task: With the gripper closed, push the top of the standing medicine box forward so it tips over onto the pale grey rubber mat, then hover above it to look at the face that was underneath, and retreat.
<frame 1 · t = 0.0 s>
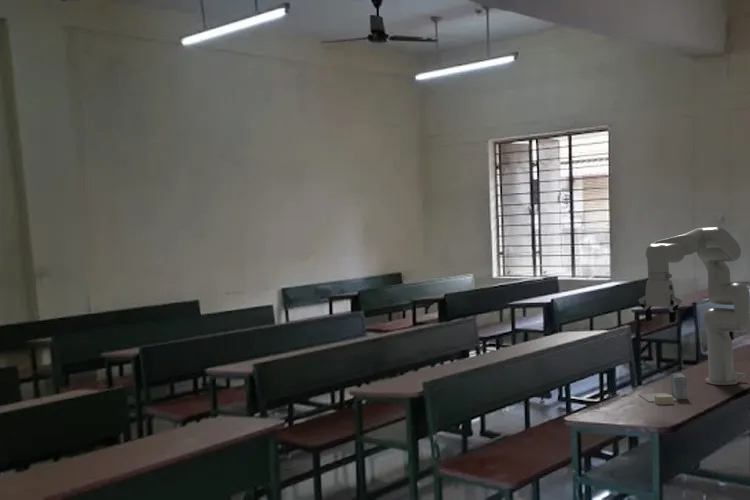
hand: (660, 321, 273), 31 cm above the table, tool pointing down, fingers open, 9 cm apart
medicine box: (679, 397, 280), on the table
mat: (657, 398, 280), on the table
pale yellow faceted block: (664, 403, 272), on the table
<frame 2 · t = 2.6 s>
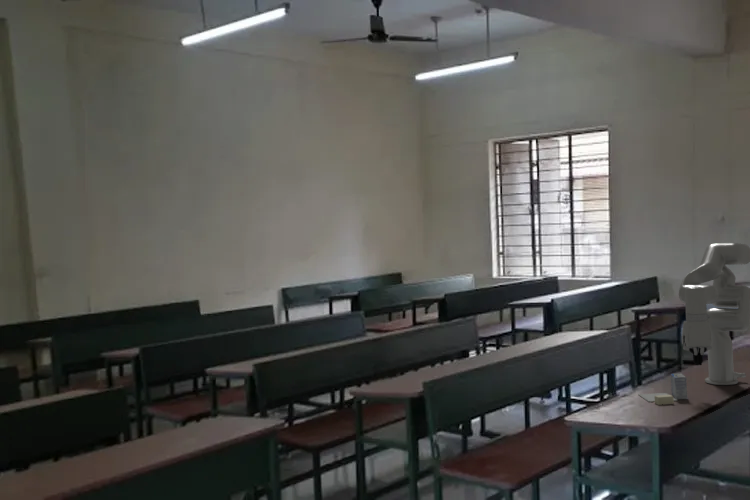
hand: (698, 364, 279), 13 cm above the table, tool pointing down, fingers closed
nothing on the table moved.
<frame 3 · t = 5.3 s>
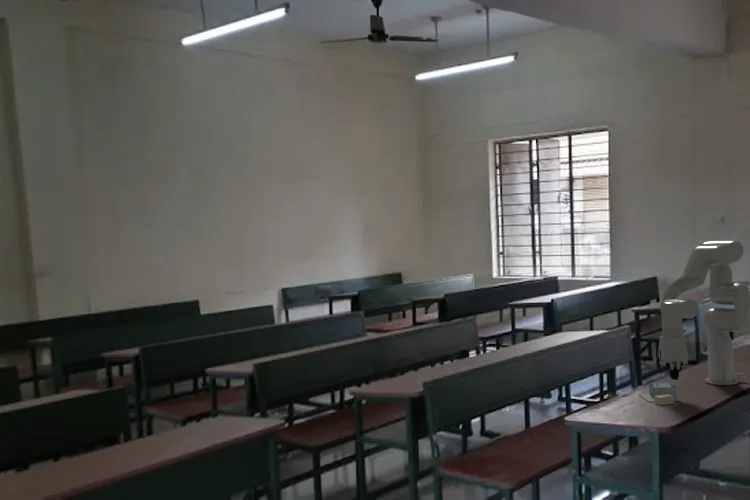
hand: (674, 379, 280), 7 cm above the table, tool pointing down, fingers closed
medicine box: (674, 390, 280), point 3 cm above the table, touching mat
everything else where it was.
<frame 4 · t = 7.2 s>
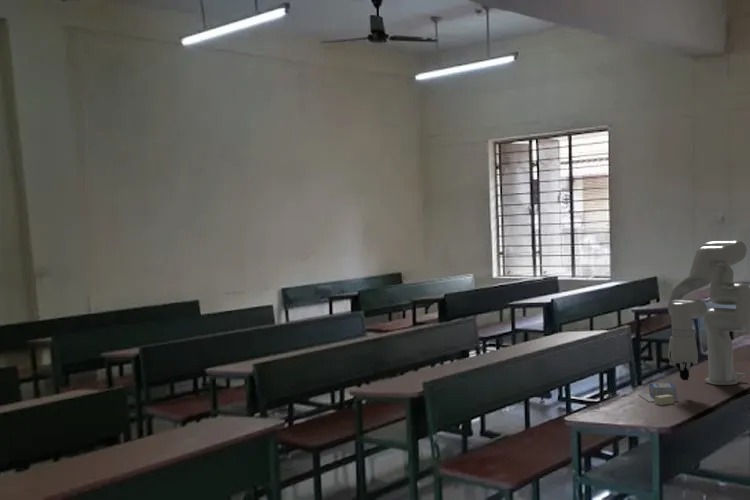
hand: (684, 379, 280), 7 cm above the table, tool pointing down, fingers closed
nothing on the table moved.
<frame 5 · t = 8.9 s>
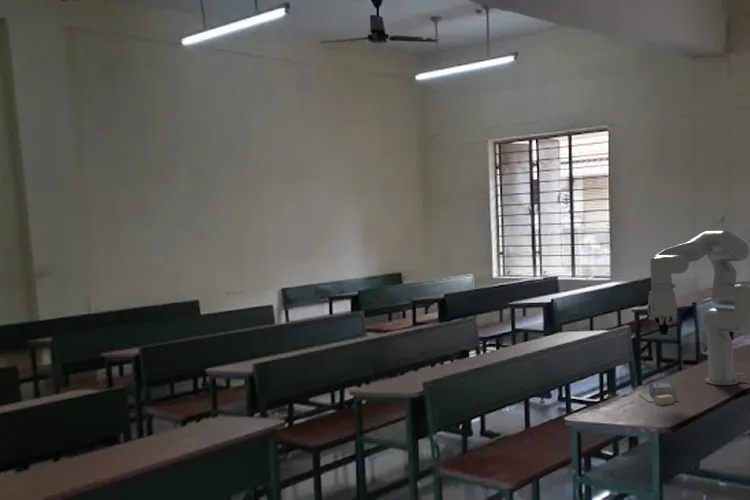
hand: (663, 334, 280), 25 cm above the table, tool pointing down, fingers closed
nothing on the table moved.
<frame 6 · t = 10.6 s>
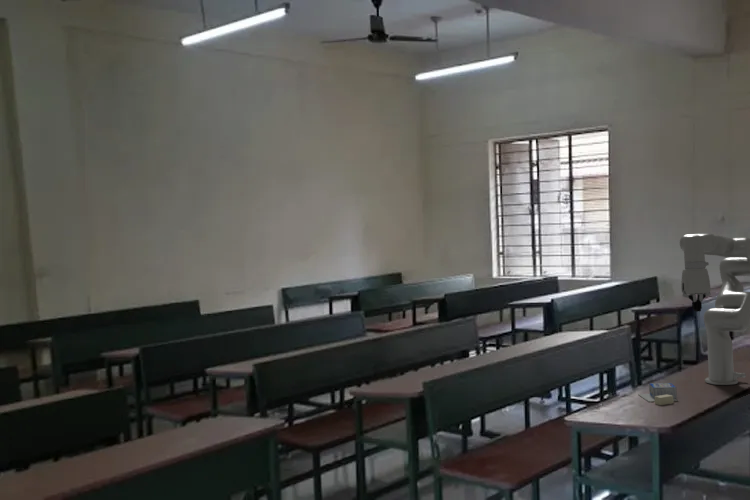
hand: (697, 310, 287), 33 cm above the table, tool pointing down, fingers closed
nothing on the table moved.
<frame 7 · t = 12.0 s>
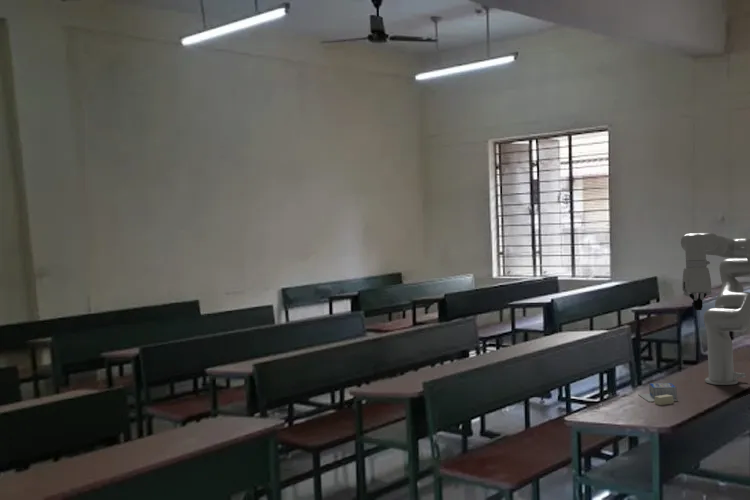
hand: (698, 309, 287), 33 cm above the table, tool pointing down, fingers closed
nothing on the table moved.
at the end: medicine box tilted 89°; medicine box inside the target area (5.9 cm from its centre), point 2.5 cm above the table; pale yellow faceted block touching table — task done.
